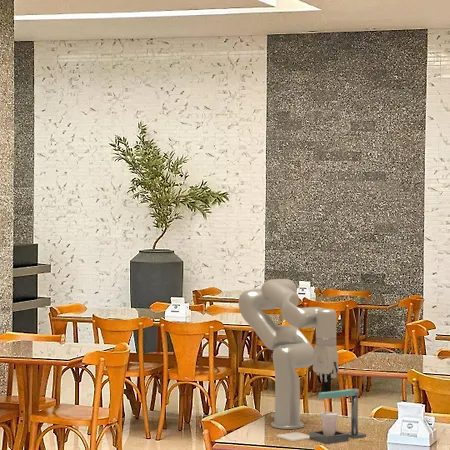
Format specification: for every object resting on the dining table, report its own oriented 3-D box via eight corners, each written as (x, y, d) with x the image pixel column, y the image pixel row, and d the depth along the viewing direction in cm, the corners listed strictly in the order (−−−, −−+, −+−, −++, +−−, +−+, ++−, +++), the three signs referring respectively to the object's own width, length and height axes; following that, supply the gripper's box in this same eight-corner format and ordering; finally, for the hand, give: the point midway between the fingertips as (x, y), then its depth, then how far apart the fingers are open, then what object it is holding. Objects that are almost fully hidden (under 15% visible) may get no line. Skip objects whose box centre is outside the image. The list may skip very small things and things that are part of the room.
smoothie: (318, 438, 367) (318, 399, 367) (336, 438, 367) (336, 399, 367) (321, 442, 360) (322, 403, 360) (339, 441, 361) (339, 402, 361)
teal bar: (355, 393, 372) (355, 388, 372) (360, 394, 370) (360, 389, 370) (317, 398, 363) (317, 392, 363) (323, 399, 360) (323, 393, 360)
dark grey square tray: (309, 439, 365) (309, 432, 365) (331, 435, 371) (331, 429, 371) (326, 444, 357) (326, 437, 357) (348, 440, 362) (348, 433, 362)
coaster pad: (275, 436, 369) (275, 435, 369) (297, 433, 375) (297, 432, 375) (291, 441, 361) (291, 439, 361) (313, 438, 366) (313, 436, 366)
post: (342, 435, 371) (343, 395, 371) (355, 433, 374) (355, 393, 374) (353, 438, 366) (353, 397, 366) (366, 436, 369) (366, 396, 369)
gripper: (305, 341, 374) (305, 390, 374) (330, 345, 362) (331, 396, 362) (321, 340, 378) (321, 388, 378) (347, 343, 366) (347, 394, 366)
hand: (326, 392), depth 370 cm, fingers closed
